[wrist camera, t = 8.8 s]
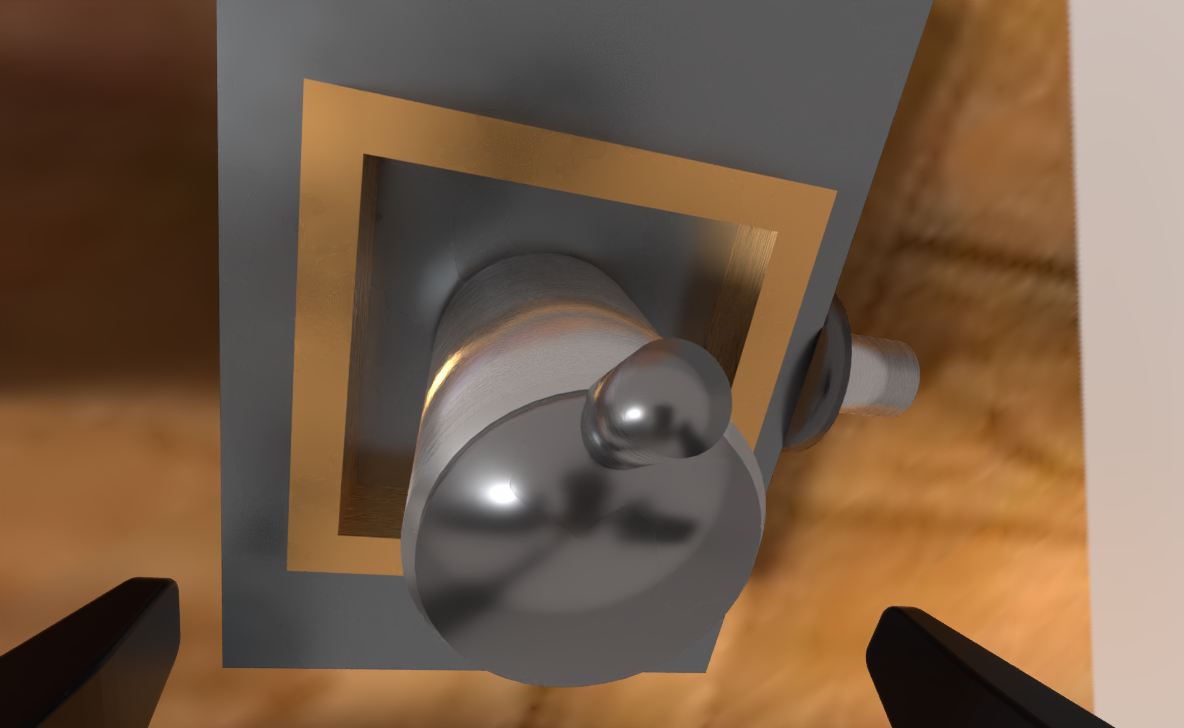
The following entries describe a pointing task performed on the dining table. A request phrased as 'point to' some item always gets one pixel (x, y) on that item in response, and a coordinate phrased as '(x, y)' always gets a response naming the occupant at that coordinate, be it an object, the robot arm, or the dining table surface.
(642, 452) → the silver calibration weight
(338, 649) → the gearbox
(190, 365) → the dining table surface
